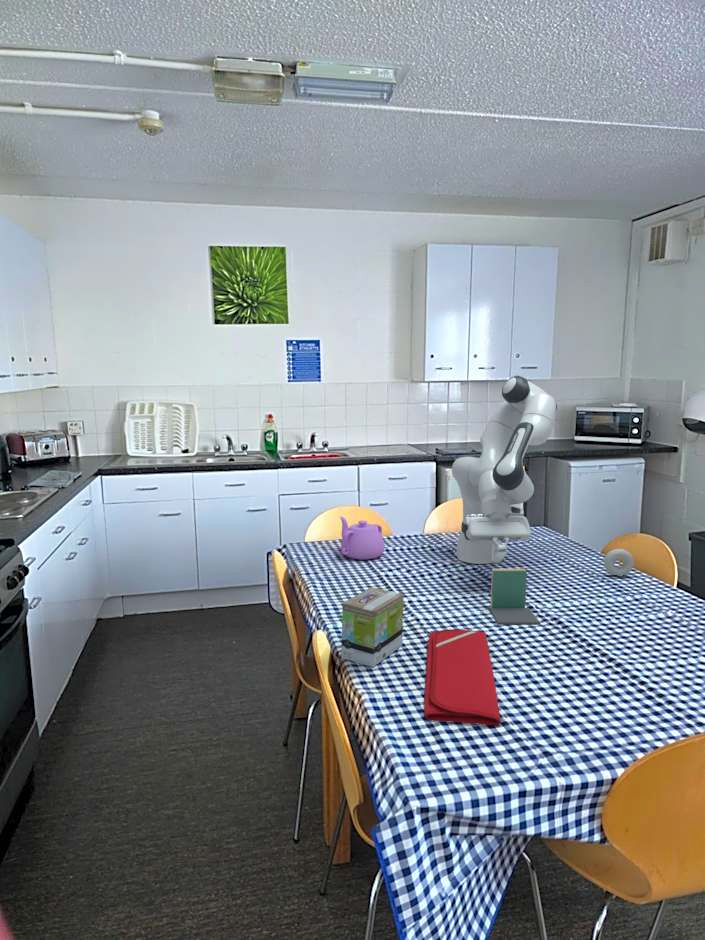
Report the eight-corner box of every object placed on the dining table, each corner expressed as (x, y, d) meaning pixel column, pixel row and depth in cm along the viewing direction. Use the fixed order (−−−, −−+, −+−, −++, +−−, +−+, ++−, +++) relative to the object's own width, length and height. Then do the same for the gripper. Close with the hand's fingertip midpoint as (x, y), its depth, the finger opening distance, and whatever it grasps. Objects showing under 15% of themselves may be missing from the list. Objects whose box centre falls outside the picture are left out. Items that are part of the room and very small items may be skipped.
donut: (604, 577, 220) (606, 549, 218) (601, 574, 223) (603, 547, 221) (634, 578, 219) (636, 550, 217) (631, 575, 222) (632, 547, 220)
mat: (489, 609, 190) (489, 608, 190) (529, 609, 190) (529, 607, 190) (497, 624, 179) (497, 622, 179) (539, 624, 179) (539, 622, 179)
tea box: (375, 668, 153) (375, 610, 150) (340, 659, 158) (340, 602, 156) (403, 646, 165) (404, 592, 163) (370, 637, 171) (370, 585, 168)
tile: (490, 606, 193) (491, 568, 191) (523, 606, 193) (524, 568, 191) (492, 609, 191) (493, 571, 189) (525, 609, 191) (526, 571, 189)
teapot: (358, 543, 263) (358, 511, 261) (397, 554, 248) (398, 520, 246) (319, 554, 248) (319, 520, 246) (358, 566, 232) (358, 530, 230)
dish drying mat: (423, 722, 130) (423, 705, 130) (427, 639, 170) (428, 626, 170) (500, 728, 128) (501, 711, 127) (487, 643, 168) (487, 630, 168)
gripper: (466, 509, 207) (471, 546, 199) (528, 509, 207) (535, 546, 199) (463, 519, 212) (468, 555, 204) (523, 519, 212) (530, 555, 204)
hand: (502, 551), depth 201 cm, fingers closed
